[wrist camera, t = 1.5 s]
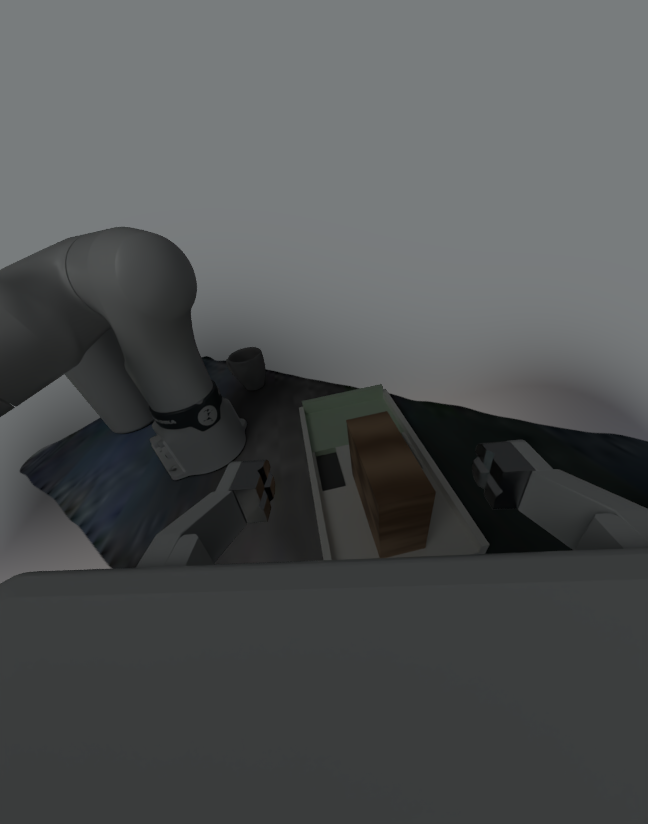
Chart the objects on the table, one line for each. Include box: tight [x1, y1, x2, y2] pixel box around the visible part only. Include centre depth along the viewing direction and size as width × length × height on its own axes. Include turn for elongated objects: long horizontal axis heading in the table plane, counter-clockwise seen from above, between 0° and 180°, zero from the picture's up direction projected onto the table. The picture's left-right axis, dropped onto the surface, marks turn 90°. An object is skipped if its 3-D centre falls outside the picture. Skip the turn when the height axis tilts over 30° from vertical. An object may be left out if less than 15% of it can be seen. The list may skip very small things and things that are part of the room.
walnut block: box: [346, 411, 436, 558], centre depth 36 cm, size 14×6×12 cm, turn 10°
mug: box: [226, 347, 265, 391], centre depth 74 cm, size 12×9×10 cm
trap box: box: [299, 384, 490, 560], centre depth 47 cm, size 36×20×4 cm, turn 10°
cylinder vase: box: [65, 328, 155, 433], centre depth 64 cm, size 12×12×25 cm
